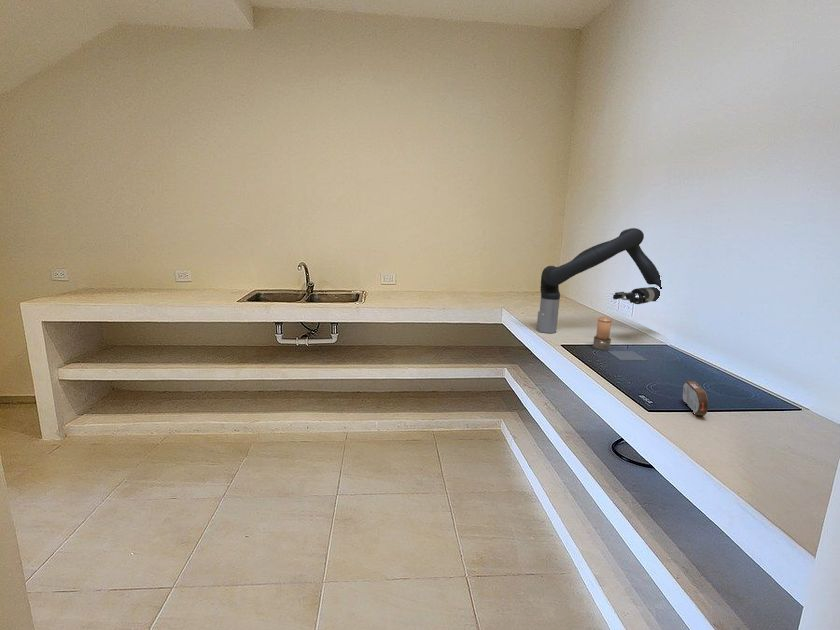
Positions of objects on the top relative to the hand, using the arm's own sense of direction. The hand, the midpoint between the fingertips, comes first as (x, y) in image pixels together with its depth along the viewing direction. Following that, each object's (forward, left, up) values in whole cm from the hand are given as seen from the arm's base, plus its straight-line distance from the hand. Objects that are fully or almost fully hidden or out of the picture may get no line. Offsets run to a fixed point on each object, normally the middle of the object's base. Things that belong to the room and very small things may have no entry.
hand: (622, 298), depth 218 cm
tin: (-9, -71, -22) cm, 75 cm away
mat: (-3, -17, -22) cm, 28 cm away
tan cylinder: (-10, -6, -18) cm, 21 cm away
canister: (-10, -6, -22) cm, 25 cm away
